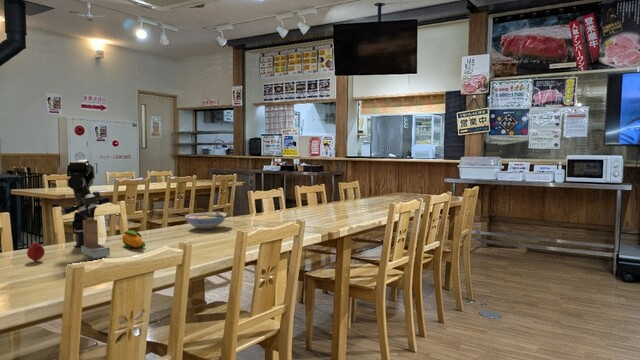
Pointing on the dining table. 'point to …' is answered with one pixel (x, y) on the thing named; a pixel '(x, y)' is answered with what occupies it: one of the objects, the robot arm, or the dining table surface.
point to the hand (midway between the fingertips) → (92, 224)
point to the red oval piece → (35, 251)
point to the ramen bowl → (205, 220)
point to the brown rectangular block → (90, 233)
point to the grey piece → (95, 252)
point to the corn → (133, 239)
